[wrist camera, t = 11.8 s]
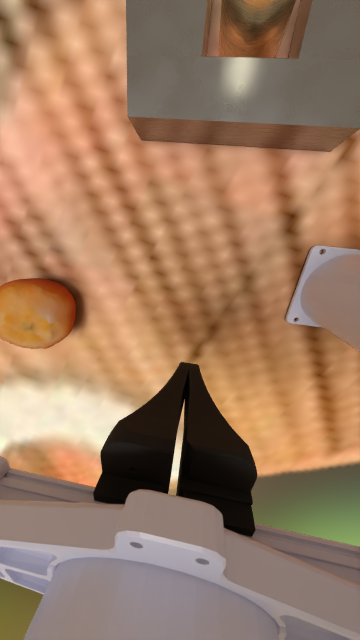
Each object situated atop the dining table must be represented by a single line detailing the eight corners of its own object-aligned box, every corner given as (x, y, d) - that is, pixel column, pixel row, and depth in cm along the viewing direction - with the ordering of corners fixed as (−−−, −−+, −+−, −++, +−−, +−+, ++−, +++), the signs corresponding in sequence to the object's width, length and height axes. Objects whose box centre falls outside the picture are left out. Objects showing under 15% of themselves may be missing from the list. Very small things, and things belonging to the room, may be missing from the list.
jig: (424, -129, 10) (512, -279, 7) (330, 151, 14) (360, 128, 12) (143, -113, 11) (123, -235, 8) (141, 140, 16) (127, 116, 13)
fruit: (2, 259, 20) (-41, 282, 14) (80, 274, 24) (75, 297, 18) (7, 320, 23) (-25, 361, 17) (76, 325, 27) (70, 359, 21)
